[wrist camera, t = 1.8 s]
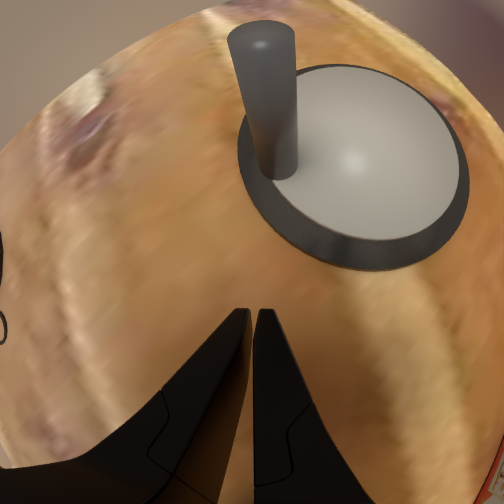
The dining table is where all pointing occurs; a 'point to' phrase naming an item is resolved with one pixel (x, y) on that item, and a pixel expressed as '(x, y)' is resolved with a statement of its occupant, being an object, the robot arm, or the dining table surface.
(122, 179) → the dining table surface
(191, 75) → the dining table surface
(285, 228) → the base plate
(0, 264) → the compass
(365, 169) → the wheel
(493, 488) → the cracker box
